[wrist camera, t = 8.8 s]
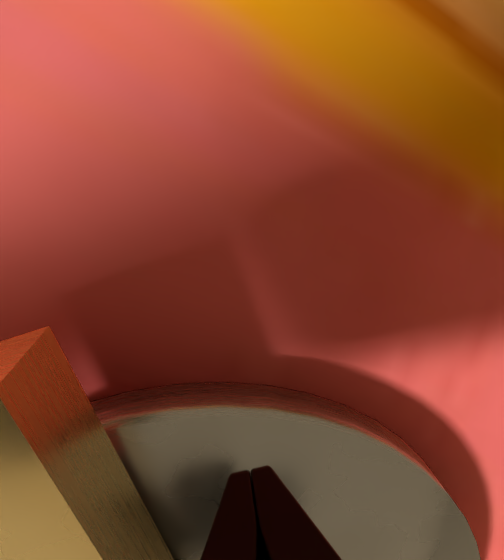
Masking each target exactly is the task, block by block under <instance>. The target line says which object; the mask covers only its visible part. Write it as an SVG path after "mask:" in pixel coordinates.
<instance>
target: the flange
mask: <svg viewBox="0 0 504 560" xmlns="http://www.w3.org/2000/svg"><path fill="white" fill-rule="evenodd" d="M90 403H91V405H92V407H93V409H94V411H95V413H96V414H97V416H98V418H99V420H100V422H101V424H102V426H103V428H104V429H105V431H106V433H107V435H108V437H109V439H110V441H111V443H112V444H113V446H114V448H115V450H116V452H117V454H118V456H119V458H120V459H121V461H122V463H123V465H124V467H125V469H126V471H127V473H128V474H129V476H130V478H131V480H132V482H133V484H134V486H135V488H136V489H137V491H138V493H139V495H140V497H141V499H142V501H143V503H144V504H145V506H146V508H147V510H148V512H149V514H150V516H151V518H152V519H153V521H154V523H155V525H156V527H157V529H158V531H159V533H160V534H161V536H162V538H163V540H164V542H165V544H166V546H167V547H168V549H169V551H170V553H171V555H172V557H173V559H174V560H200V559H201V556H202V553H203V550H204V547H205V544H206V541H207V538H208V535H209V532H210V529H211V527H212V524H213V521H214V518H215V515H216V512H217V509H218V506H219V503H220V500H221V497H222V494H223V491H224V489H225V486H226V483H227V480H228V477H229V475H230V474H231V473H233V472H238V471H242V470H249V471H250V474H251V470H252V469H253V468H257V467H261V466H266V465H269V466H270V467H272V469H273V470H274V471H275V473H276V474H277V475H278V476H279V478H280V479H281V480H282V482H283V483H284V484H285V486H286V487H287V488H288V490H289V491H290V492H291V493H292V495H293V496H294V497H295V499H296V500H297V501H298V503H299V504H300V505H301V507H302V508H303V509H304V511H305V512H306V513H307V514H308V516H309V517H310V518H311V520H312V521H313V522H314V524H315V525H316V526H317V528H318V529H319V530H320V531H321V533H322V534H323V535H324V537H325V538H326V539H327V541H328V542H329V543H330V545H331V546H332V547H333V549H334V550H335V551H336V552H337V554H338V555H339V556H340V558H341V559H342V560H481V559H480V555H479V550H478V546H477V542H476V540H475V537H474V535H473V533H472V531H471V529H470V526H469V524H468V522H467V520H466V518H465V516H464V515H463V514H462V512H461V511H460V509H459V508H458V507H457V505H456V504H455V503H454V501H453V500H452V498H451V497H450V496H449V494H448V493H447V492H446V490H445V489H444V487H443V486H442V485H441V483H440V482H439V481H438V479H437V478H436V477H435V475H434V474H433V473H432V471H431V470H430V469H429V467H428V466H427V465H426V463H425V462H424V461H423V459H422V458H421V457H420V456H419V455H418V454H417V453H416V452H415V451H414V450H413V449H412V448H411V447H410V446H409V445H408V444H407V443H406V442H405V441H404V440H402V439H401V438H400V437H399V436H397V435H396V434H395V433H393V432H392V431H390V430H389V429H387V428H386V427H384V426H383V425H381V424H380V423H379V422H377V421H376V420H374V419H372V418H370V417H368V416H366V415H364V414H362V413H360V412H358V411H355V410H353V409H351V408H349V407H347V406H345V405H343V404H340V403H337V402H334V401H331V400H328V399H325V398H322V397H318V396H315V395H312V394H309V393H306V392H301V391H295V390H290V389H285V388H279V387H274V386H268V385H259V384H244V383H228V382H211V383H191V384H173V385H167V386H160V387H154V388H148V389H142V390H136V391H129V392H125V393H121V394H117V395H114V396H110V397H107V398H103V399H99V400H96V401H92V402H90Z"/></svg>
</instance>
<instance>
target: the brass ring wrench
mask: <svg viewBox="0 0 504 560" xmlns="http://www.w3.org/2000/svg"><path fill="white" fill-rule="evenodd" d="M0 560H174V559H173V557H172V555H171V553H170V551H169V549H168V547H167V546H166V544H165V542H164V540H163V538H162V536H161V534H160V533H159V531H158V529H157V527H156V525H155V523H154V521H153V519H152V518H151V516H150V514H149V512H148V510H147V508H146V506H145V504H144V503H143V501H142V499H141V497H140V495H139V493H138V491H137V489H136V488H135V486H134V484H133V482H132V480H131V478H130V476H129V474H128V473H127V471H126V469H125V467H124V465H123V463H122V461H121V459H120V458H119V456H118V454H117V452H116V450H115V448H114V446H113V444H112V443H111V441H110V439H109V437H108V435H107V433H106V431H105V429H104V428H103V426H102V424H101V422H100V420H99V418H98V416H97V414H96V413H95V411H94V409H93V407H92V405H91V403H90V401H89V399H88V398H87V396H86V394H85V392H84V390H83V388H82V386H81V384H80V383H79V381H78V379H77V377H76V375H75V373H74V371H73V369H72V368H71V366H70V364H69V362H68V360H67V358H66V356H65V355H64V353H63V351H62V349H61V347H60V345H59V343H58V341H57V340H56V338H55V336H54V334H53V332H52V330H51V328H50V326H47V327H44V328H41V329H38V330H34V331H31V332H28V333H25V334H22V335H19V336H15V337H12V338H9V339H6V340H3V341H0Z"/></svg>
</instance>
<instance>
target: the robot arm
mask: <svg viewBox="0 0 504 560" xmlns="http://www.w3.org/2000/svg"><path fill="white" fill-rule="evenodd" d="M200 560H342V559H341V558H340V556H339V555H338V554H337V552H336V551H335V550H334V549H333V547H332V546H331V545H330V543H329V542H328V541H327V539H326V538H325V537H324V535H323V534H322V533H321V531H320V530H319V529H318V528H317V526H316V525H315V524H314V522H313V521H312V520H311V518H310V517H309V516H308V514H307V513H306V512H305V511H304V509H303V508H302V507H301V505H300V504H299V503H298V501H297V500H296V499H295V497H294V496H293V495H292V493H291V492H290V491H289V490H288V488H287V487H286V486H285V484H284V483H283V482H282V480H281V479H280V478H279V476H278V475H277V474H276V473H275V471H274V470H273V469H272V467H270V466H269V465H266V466H261V467H257V468H253V469H252V470H251V474H250V471H249V470H242V471H238V472H233V473H231V474H230V475H229V477H228V480H227V483H226V486H225V489H224V491H223V494H222V497H221V500H220V503H219V506H218V509H217V512H216V515H215V518H214V521H213V524H212V527H211V529H210V532H209V535H208V538H207V541H206V544H205V547H204V550H203V553H202V556H201V559H200Z"/></svg>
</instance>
